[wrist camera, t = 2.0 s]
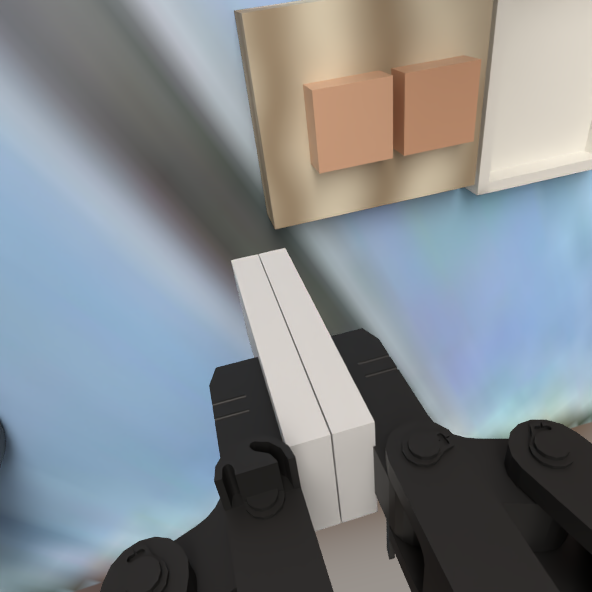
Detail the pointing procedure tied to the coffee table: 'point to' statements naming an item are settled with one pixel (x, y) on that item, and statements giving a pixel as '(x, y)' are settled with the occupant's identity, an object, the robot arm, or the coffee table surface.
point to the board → (340, 63)
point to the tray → (536, 94)
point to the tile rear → (435, 104)
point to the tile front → (349, 120)
